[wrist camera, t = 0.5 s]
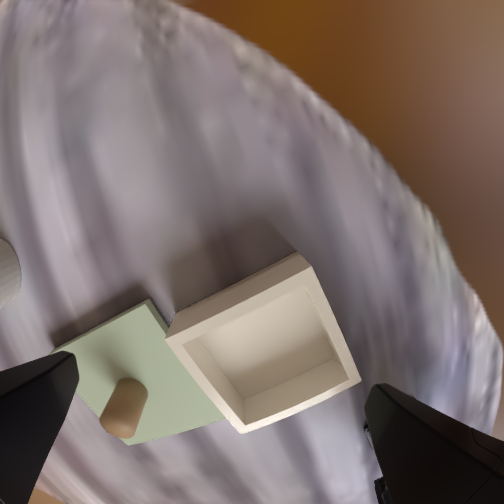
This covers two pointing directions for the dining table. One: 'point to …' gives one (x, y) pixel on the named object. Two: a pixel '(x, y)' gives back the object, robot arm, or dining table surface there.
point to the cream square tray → (265, 345)
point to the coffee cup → (8, 273)
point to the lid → (138, 379)
